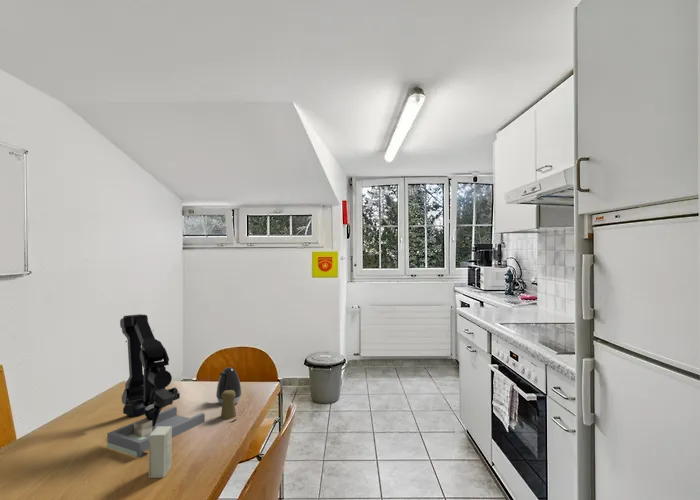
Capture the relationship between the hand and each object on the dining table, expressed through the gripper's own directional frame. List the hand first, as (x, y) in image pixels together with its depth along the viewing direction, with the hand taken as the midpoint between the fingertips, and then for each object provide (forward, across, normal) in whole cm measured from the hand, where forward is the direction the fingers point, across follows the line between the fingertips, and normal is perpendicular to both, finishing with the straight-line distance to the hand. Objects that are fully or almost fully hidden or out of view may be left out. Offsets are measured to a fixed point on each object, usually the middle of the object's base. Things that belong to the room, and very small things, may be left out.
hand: (152, 426), depth 141 cm
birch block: (+1, -4, 0) cm, 4 cm away
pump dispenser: (+3, +34, -4) cm, 34 cm away
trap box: (+3, 0, -3) cm, 4 cm away
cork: (+3, +20, -16) cm, 26 cm away
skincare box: (+3, -17, -24) cm, 29 cm away
